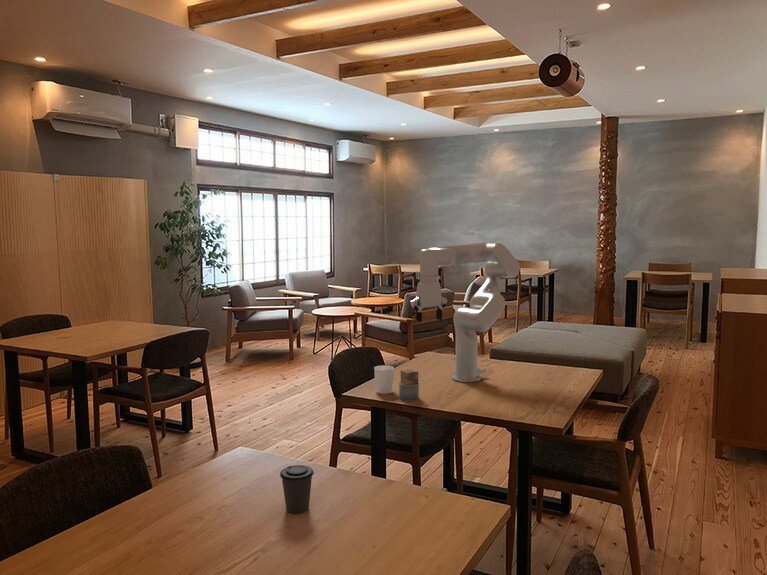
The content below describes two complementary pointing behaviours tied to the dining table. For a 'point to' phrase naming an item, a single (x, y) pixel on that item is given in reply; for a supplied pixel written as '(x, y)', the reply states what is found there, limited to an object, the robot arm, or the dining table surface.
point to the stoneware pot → (408, 392)
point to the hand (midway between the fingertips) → (429, 320)
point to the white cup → (384, 379)
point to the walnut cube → (409, 377)
